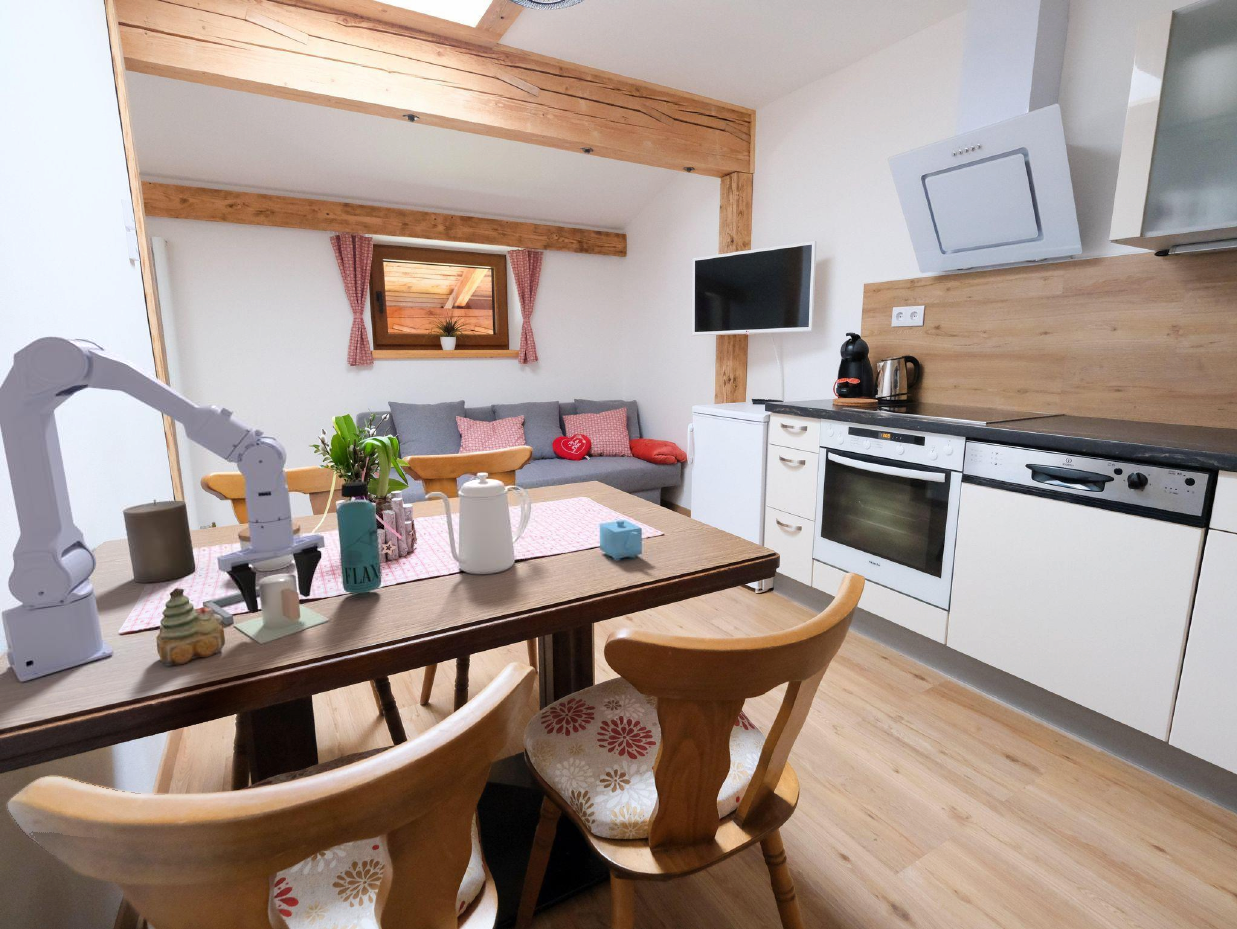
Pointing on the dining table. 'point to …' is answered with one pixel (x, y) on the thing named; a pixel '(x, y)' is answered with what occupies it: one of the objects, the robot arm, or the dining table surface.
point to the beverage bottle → (358, 541)
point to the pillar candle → (159, 541)
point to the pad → (264, 635)
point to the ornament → (188, 631)
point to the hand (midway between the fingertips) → (279, 602)
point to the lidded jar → (272, 563)
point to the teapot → (620, 539)
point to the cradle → (225, 600)
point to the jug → (279, 601)
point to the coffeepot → (485, 525)
